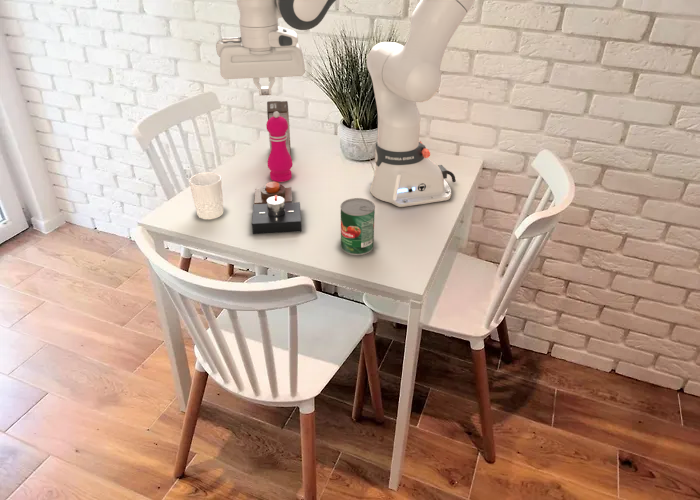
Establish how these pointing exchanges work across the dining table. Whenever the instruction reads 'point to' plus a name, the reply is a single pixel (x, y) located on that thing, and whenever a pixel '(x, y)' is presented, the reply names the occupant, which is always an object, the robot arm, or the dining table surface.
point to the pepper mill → (279, 149)
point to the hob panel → (276, 219)
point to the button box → (272, 194)
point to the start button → (272, 187)
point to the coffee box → (283, 111)
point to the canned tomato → (357, 226)
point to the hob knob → (276, 206)
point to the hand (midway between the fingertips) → (265, 94)
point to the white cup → (207, 194)
